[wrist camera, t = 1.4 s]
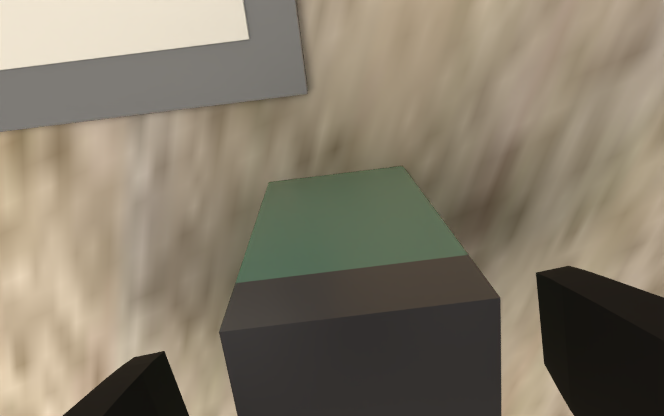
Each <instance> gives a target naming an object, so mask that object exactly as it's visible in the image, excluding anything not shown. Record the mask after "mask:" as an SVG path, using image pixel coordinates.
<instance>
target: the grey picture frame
mask: <svg viewBox="0 0 664 416" xmlns="http://www.w3.org/2000/svg"><path fill="white" fill-rule="evenodd" d="M307 93H308V88H307V80H306V73H305V65H304V57H303V49H302V42H301V34H300V26H299V19H298V11H297V3H296V0H0V132H2V131H11V130H19V129H27V128H35V127H43V126H51V125H59V124H67V123H76V122H84V121H92V120H100V119H108V118H116V117H124V116H132V115H141V114H149V113H157V112H165V111H173V110H181V109H189V108H197V107H205V106H214V105H222V104H230V103H238V102H246V101H254V100H262V99H270V98H279V97H287V96H295V95H303V94H307Z"/></svg>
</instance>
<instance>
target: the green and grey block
mask: <svg viewBox="0 0 664 416" xmlns="http://www.w3.org/2000/svg"><path fill="white" fill-rule="evenodd" d="M219 334H220V338H221V343H222V347H223V352H224V356H225V361H226V365H227V370H228V374H229V379H230V383H231V388H232V392H233V397H234V402H235V406H236V411H237V415H238V416H501V317H500V297H499V295H498V294H497V293H496V291H495V290H494V289H493V287H492V286H491V285H490V283H489V282H488V281H487V279H486V278H485V277H484V275H483V274H482V272H481V271H480V270H479V268H478V267H477V266H476V264H475V263H474V262H473V260H472V259H471V258H470V256H469V255H468V254H467V252H466V251H465V250H464V248H463V247H462V245H461V244H460V243H459V241H458V240H457V239H456V237H455V236H454V235H453V233H452V232H451V231H450V229H449V228H448V227H447V225H446V224H445V223H444V221H443V220H442V219H441V217H440V216H439V214H438V213H437V212H436V210H435V209H434V208H433V206H432V205H431V204H430V202H429V201H428V200H427V198H426V197H425V196H424V194H423V193H422V192H421V190H420V189H419V187H418V186H417V185H416V183H415V182H414V181H413V179H412V178H411V177H410V175H409V174H408V173H407V171H406V170H405V169H404V167H403V166H398V167H390V168H381V169H373V170H365V171H357V172H349V173H341V174H333V175H324V176H316V177H308V178H300V179H292V180H284V181H275V182H269V183H268V187H267V190H266V193H265V196H264V199H263V202H262V205H261V208H260V211H259V214H258V217H257V220H256V223H255V226H254V229H253V232H252V235H251V238H250V241H249V244H248V247H247V250H246V253H245V256H244V259H243V262H242V265H241V268H240V271H239V274H238V277H237V280H236V283H235V286H234V289H233V292H232V295H231V298H230V301H229V304H228V307H227V310H226V313H225V316H224V319H223V322H222V325H221V328H220V331H219Z"/></svg>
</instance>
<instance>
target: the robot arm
mask: <svg viewBox="0 0 664 416" xmlns="http://www.w3.org/2000/svg"><path fill="white" fill-rule="evenodd" d="M536 278H537V289H538V300H539V311H540V322H541V333H542V344H543V355H544V364H545V366H546V368H547V369H548V371H549V373H550V375H551V377H552V379H553V380H554V382H555V384H556V386H557V388H558V390H559V391H560V393H561V395H562V396H563V398H564V400H565V402H566V403H567V405H568V407H569V408H570V410H571V412H572V413H573V415H574V416H664V298H663V297H660V296H657V295H654V294H652V293H649V292H646V291H643V290H640V289H637V288H635V287H632V286H629V285H626V284H623V283H621V282H618V281H615V280H612V279H609V278H606V277H603V276H600V275H598V274H595V273H592V272H588V271H585V270H582V269H579V268H575V267H571V266H566V267H561V268H556V269H552V270H547V271H542V272H537V273H536ZM63 416H189V414H188V412H187V409H186V406H185V404H184V401H183V399H182V396H181V393H180V391H179V388H178V385H177V383H176V380H175V378H174V375H173V372H172V370H171V367H170V365H169V362H168V359H167V357H166V354H165V351H162V352H158V353H153V354H148V355H143V356H139V357H134V358H133V359H131V360H130V361H128V362H127V363H125V364H124V365H123V366H121V367H120V368H119V369H117V370H116V371H115V372H114V373H112V374H111V375H110V376H109V377H107V378H106V379H105V380H104V381H103V382H101V383H100V384H99V385H98V386H97V387H96V388H94V389H93V390H92V391H91V392H90V393H89V394H87V395H86V396H85V397H84V398H83V399H82V400H80V401H79V402H78V403H77V404H76V405H75V406H73V407H72V408H71V409H70V410H69V411H68V412H66V413H65V414H64V415H63Z"/></svg>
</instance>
